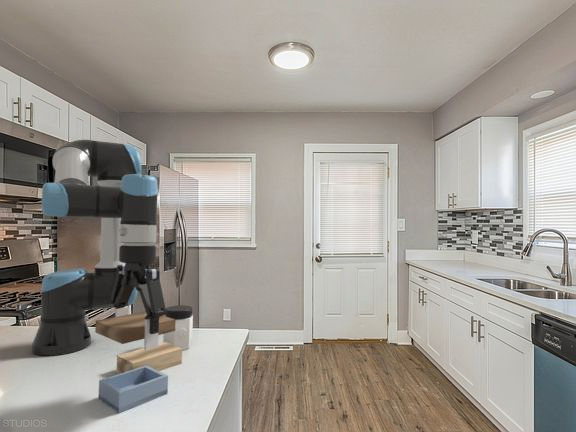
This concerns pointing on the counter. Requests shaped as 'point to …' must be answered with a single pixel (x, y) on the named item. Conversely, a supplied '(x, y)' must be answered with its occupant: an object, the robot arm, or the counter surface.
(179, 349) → the tan wooden block
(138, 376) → the dish
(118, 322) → the lid
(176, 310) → the jar
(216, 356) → the counter surface
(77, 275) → the robot arm
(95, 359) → the counter surface
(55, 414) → the counter surface
